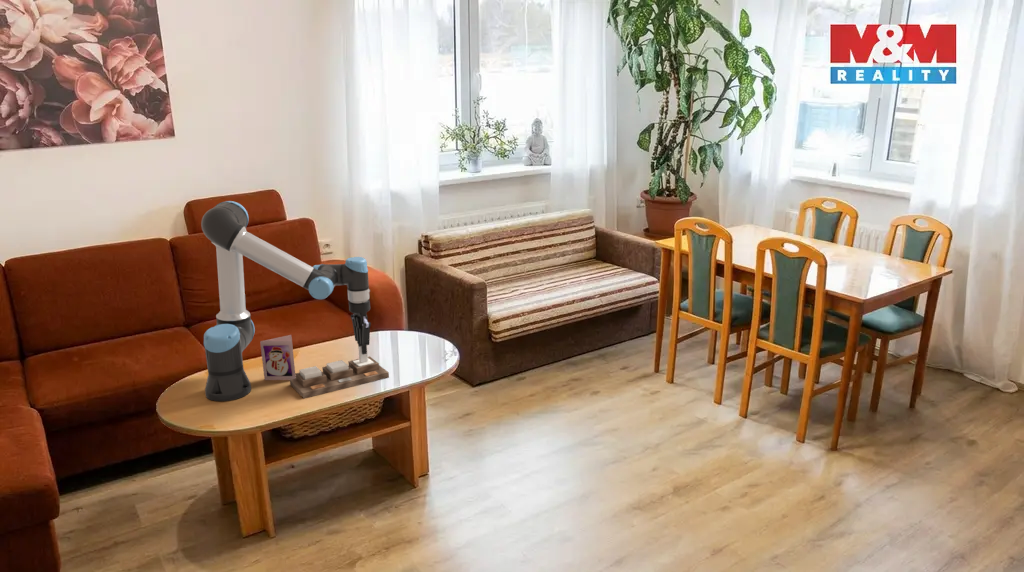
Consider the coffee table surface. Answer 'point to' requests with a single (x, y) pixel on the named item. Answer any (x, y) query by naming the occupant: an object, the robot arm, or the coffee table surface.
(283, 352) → the greeting card
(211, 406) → the coffee table surface
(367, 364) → the button right
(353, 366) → the button board
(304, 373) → the button left
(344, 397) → the coffee table surface
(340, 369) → the button middle
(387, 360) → the coffee table surface
